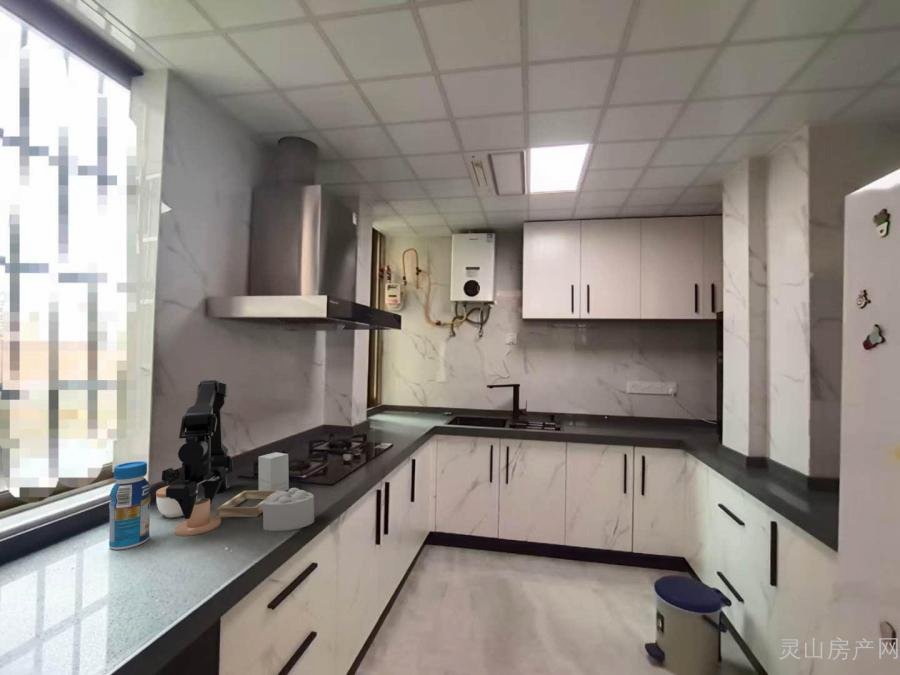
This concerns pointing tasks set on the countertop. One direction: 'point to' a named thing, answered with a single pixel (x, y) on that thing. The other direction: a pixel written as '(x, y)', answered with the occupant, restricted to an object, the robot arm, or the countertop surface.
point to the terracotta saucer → (186, 531)
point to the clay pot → (200, 513)
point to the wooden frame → (232, 511)
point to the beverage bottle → (129, 506)
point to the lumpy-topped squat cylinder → (288, 510)
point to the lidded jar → (168, 504)
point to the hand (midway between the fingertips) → (198, 512)
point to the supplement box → (273, 472)
